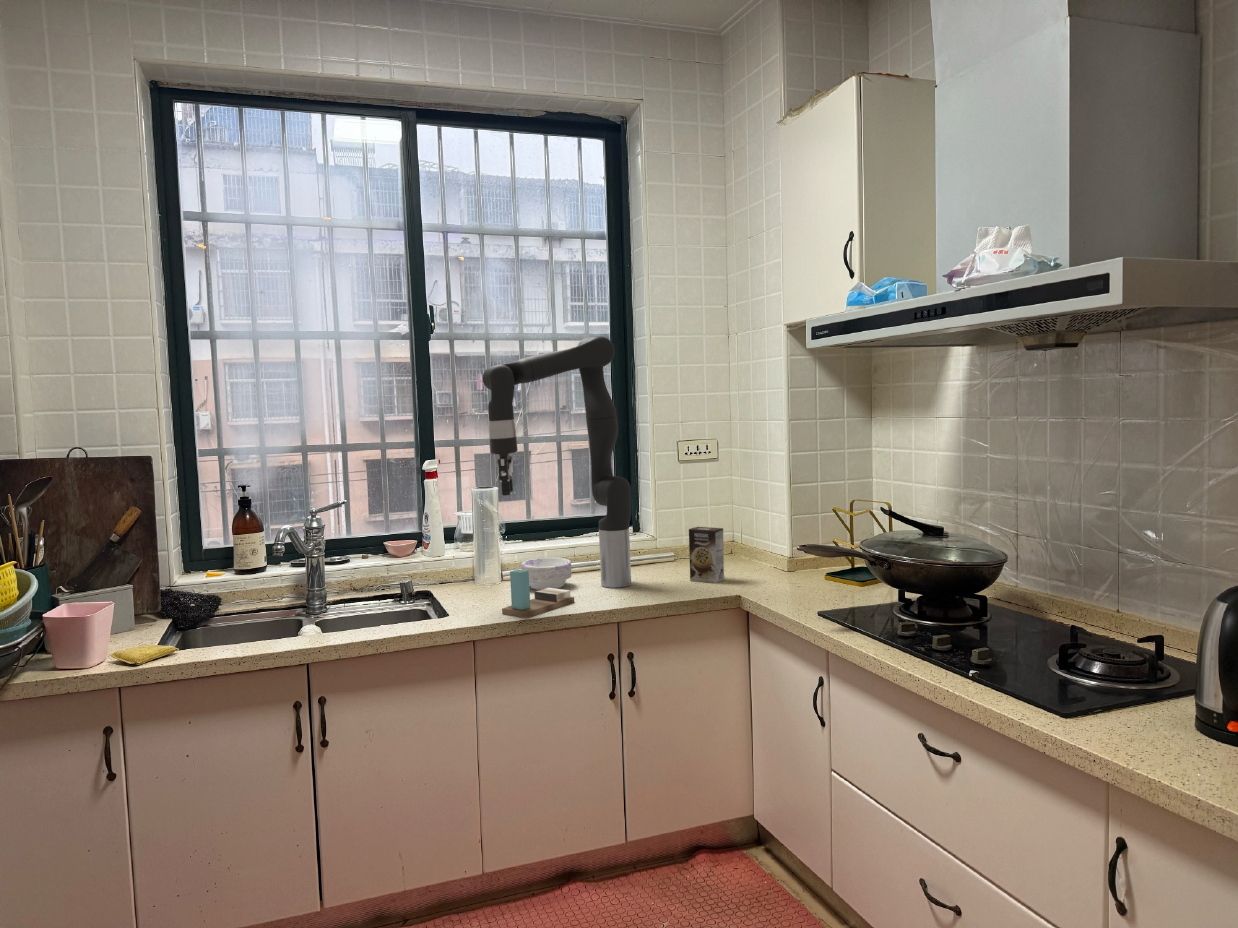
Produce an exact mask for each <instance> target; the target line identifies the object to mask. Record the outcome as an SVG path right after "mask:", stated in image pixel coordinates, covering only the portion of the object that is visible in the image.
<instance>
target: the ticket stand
mask: <svg viewBox="0 0 1238 928" xmlns="http://www.w3.org/2000/svg"><path fill="white" fill-rule="evenodd" d="M570 603H571V604H574V603H575V596H571V590H569V589H561V588H558V589H555V588H546V589H543V590H537V591H536V590H534V598H530V608H527V609H524V610H520V609H514V608H512V605H509V606H506V607H502V608H501V613H502V615H505V616H512V617H518V616H519V618H525V619H528V618H531V617H534V616H536V615H541V614H543V613H546V612H550V611H553V610H555V608H556V609H558V608H560V607H564V606H568V605H569V604H570ZM530 616H531V617H530Z"/></svg>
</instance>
